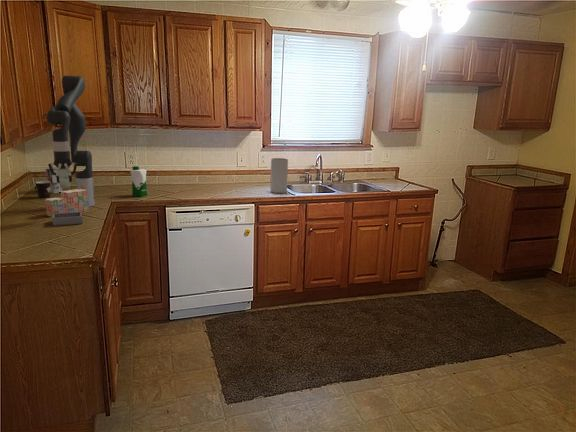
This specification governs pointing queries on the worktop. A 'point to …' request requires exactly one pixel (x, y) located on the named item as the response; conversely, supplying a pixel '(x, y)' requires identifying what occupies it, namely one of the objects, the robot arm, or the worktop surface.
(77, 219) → the bin
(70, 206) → the stack of blocks
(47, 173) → the coffee box
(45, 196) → the coffee mug
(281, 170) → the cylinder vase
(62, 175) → the sage block
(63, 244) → the worktop surface
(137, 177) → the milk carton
